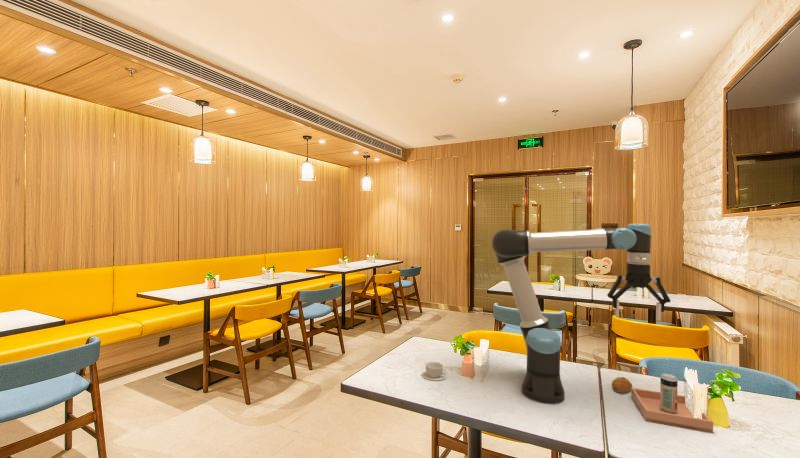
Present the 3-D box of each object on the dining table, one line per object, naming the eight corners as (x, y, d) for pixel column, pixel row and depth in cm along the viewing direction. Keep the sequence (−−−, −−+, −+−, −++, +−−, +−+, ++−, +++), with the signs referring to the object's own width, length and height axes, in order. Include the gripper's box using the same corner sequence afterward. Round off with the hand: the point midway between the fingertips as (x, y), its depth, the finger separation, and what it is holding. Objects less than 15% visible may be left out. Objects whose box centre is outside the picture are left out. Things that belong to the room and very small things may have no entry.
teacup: (418, 378, 143) (419, 367, 143) (426, 369, 152) (426, 359, 152) (442, 383, 139) (442, 371, 139) (448, 374, 148) (448, 363, 148)
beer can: (673, 408, 120) (674, 373, 120) (680, 415, 116) (680, 379, 116) (657, 405, 122) (657, 371, 122) (662, 412, 117) (663, 377, 117)
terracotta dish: (645, 421, 114) (645, 410, 114) (631, 397, 130) (631, 387, 130) (712, 433, 107) (713, 421, 107) (688, 406, 124) (688, 396, 124)
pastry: (629, 396, 131) (629, 386, 131) (608, 391, 135) (608, 381, 135) (632, 388, 138) (633, 378, 138) (613, 383, 142) (613, 374, 142)
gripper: (603, 262, 135) (602, 317, 135) (681, 266, 126) (680, 324, 126) (599, 261, 142) (598, 312, 142) (673, 264, 133) (672, 319, 133)
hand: (637, 318), depth 134 cm, fingers open, 13 cm apart
